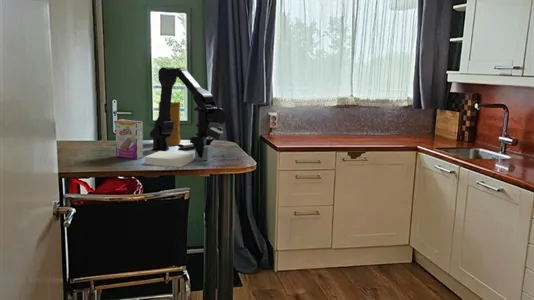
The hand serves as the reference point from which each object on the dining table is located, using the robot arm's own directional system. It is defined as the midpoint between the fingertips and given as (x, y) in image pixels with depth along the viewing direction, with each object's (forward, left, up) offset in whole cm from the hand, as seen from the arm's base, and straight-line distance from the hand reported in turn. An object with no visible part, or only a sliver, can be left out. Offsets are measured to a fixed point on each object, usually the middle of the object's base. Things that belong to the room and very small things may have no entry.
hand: (203, 156), depth 210 cm
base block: (-11, -12, -1) cm, 16 cm away
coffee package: (-29, +27, -2) cm, 40 cm away
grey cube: (0, 0, -1) cm, 1 cm away
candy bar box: (-31, -10, -2) cm, 33 cm away
